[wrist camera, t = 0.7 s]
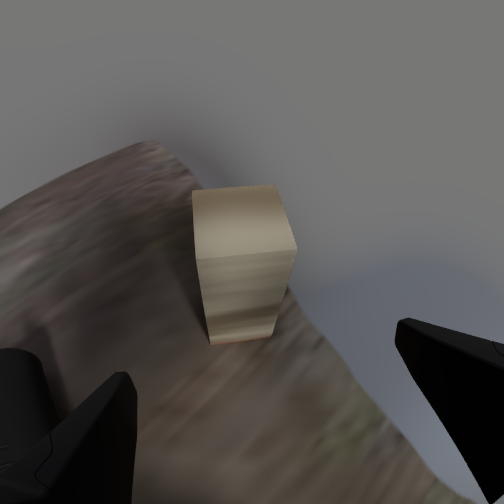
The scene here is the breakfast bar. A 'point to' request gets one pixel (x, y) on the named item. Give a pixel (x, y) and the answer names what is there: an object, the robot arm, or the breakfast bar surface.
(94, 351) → the breakfast bar surface
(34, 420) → the end cap
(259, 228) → the beech block
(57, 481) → the robot arm
